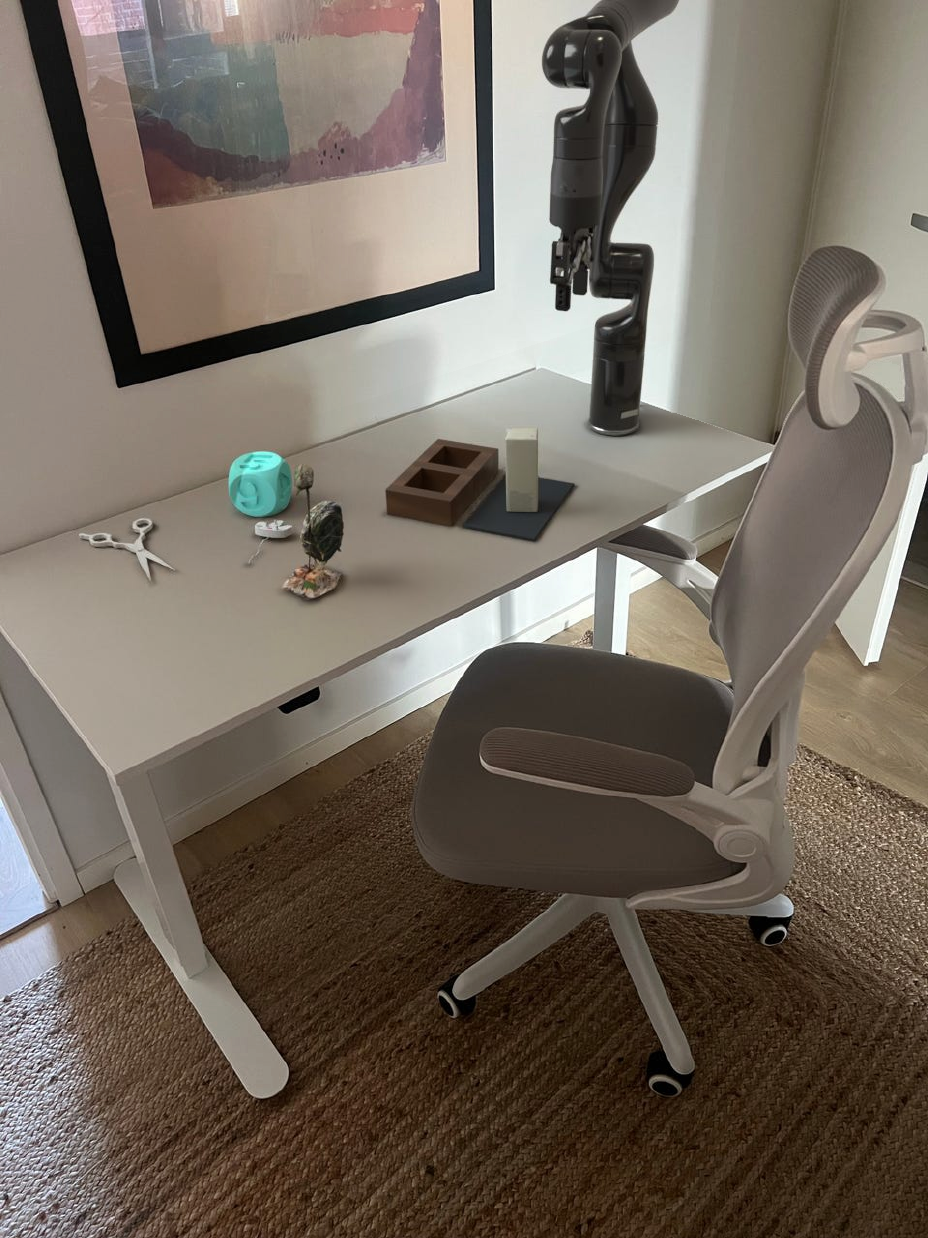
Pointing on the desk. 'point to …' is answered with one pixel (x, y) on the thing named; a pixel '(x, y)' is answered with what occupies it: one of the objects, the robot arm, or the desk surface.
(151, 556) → the scissors
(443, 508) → the rack
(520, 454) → the box
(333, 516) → the plant with pod
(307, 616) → the desk surface
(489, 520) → the mat
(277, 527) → the game controller
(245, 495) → the decorative dice
